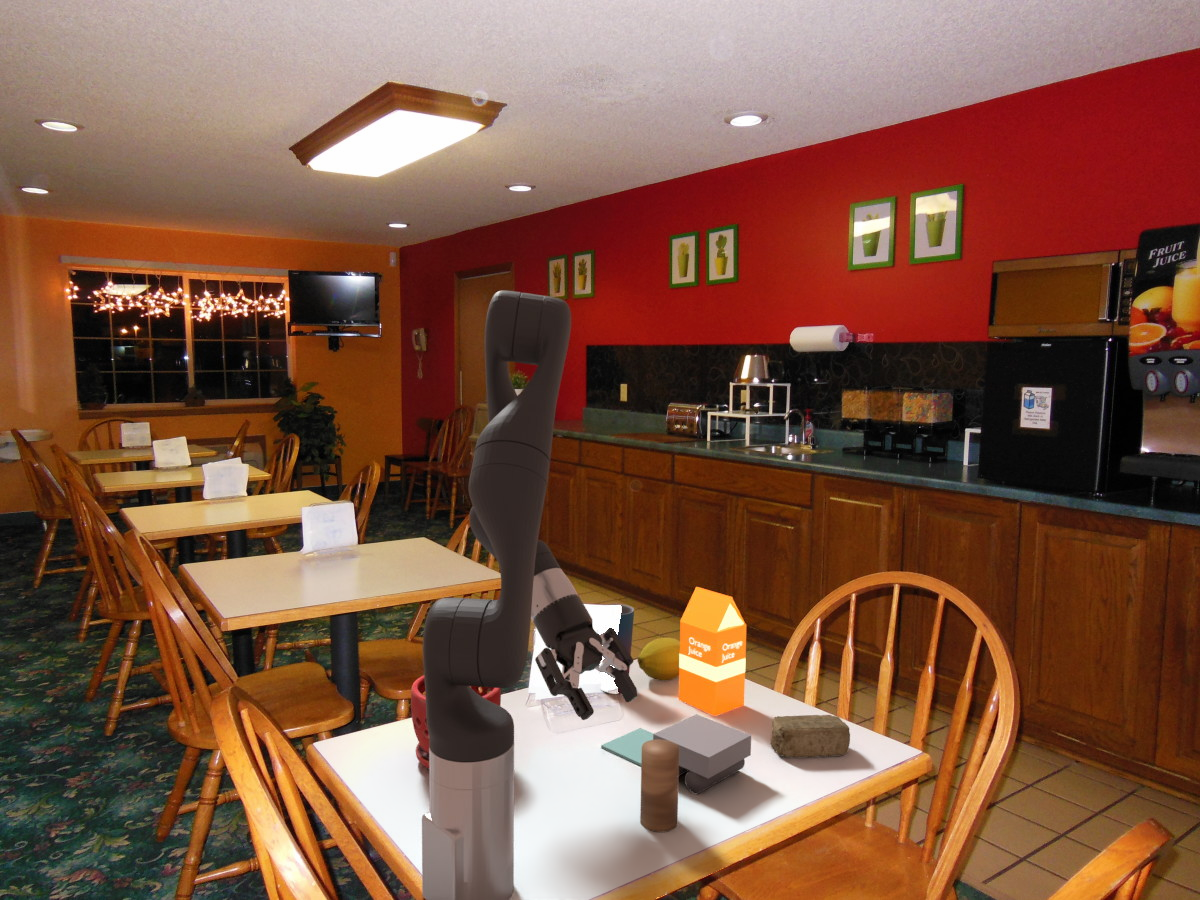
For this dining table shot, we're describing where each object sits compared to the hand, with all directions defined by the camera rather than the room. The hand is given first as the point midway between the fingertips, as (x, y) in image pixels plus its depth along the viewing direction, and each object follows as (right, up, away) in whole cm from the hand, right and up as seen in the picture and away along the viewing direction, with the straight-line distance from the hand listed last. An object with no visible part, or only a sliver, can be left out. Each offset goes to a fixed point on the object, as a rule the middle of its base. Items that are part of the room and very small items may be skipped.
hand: (611, 707), depth 112 cm
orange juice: (+18, -10, +34) cm, 40 cm away
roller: (+6, -13, -5) cm, 15 cm away
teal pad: (+5, -11, +16) cm, 20 cm away
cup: (+1, -9, +39) cm, 40 cm away
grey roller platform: (+13, -12, +8) cm, 19 cm away
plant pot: (-23, -12, +11) cm, 28 cm away
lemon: (+10, -9, +44) cm, 46 cm away
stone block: (+31, -12, +16) cm, 37 cm away
